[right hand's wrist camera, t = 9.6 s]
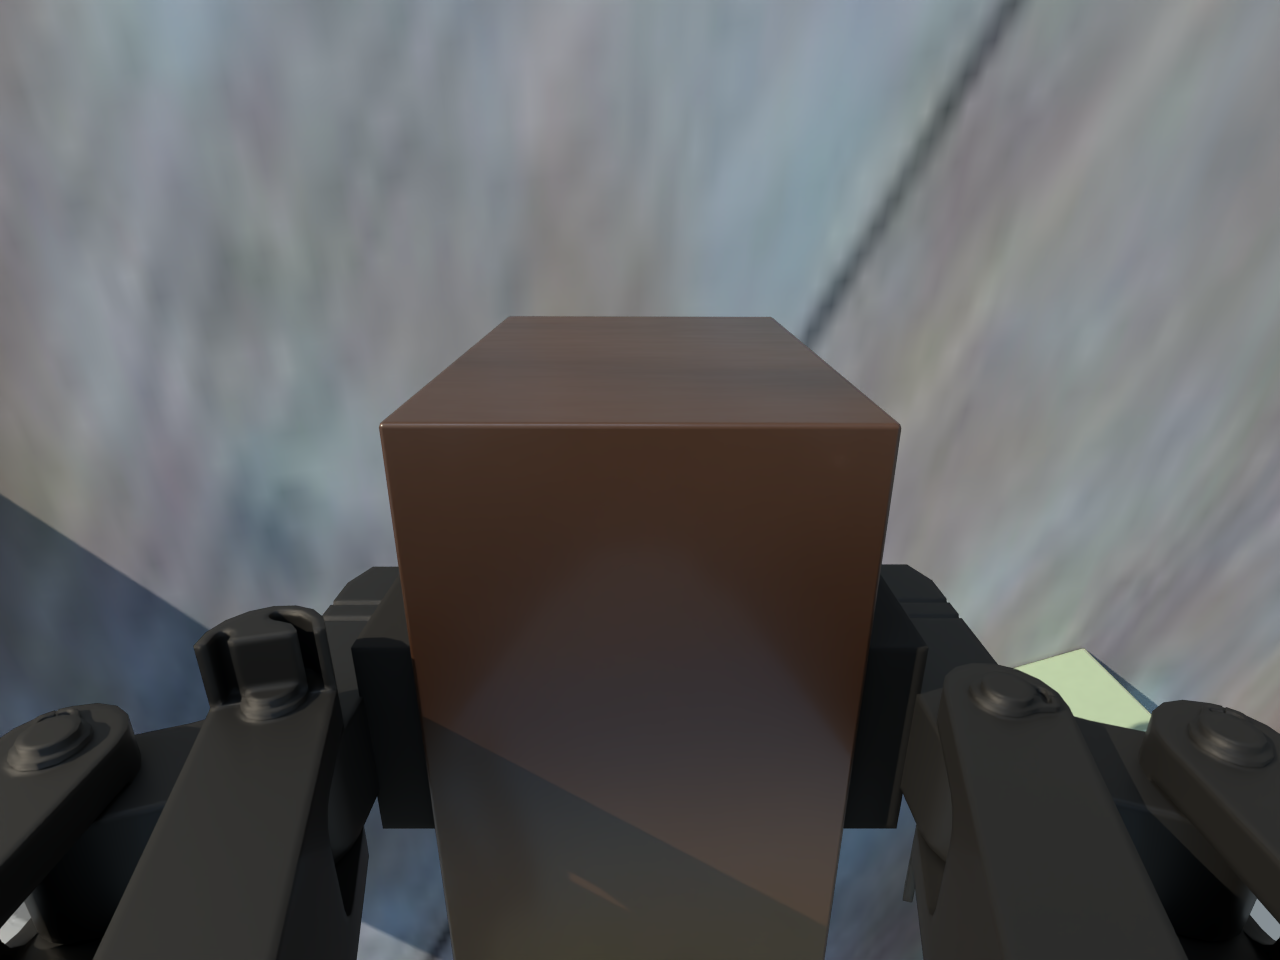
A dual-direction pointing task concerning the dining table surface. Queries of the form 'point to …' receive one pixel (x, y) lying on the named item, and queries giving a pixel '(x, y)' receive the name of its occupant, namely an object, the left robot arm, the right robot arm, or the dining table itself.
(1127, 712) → the sage block
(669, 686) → the walnut block
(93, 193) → the dining table surface
